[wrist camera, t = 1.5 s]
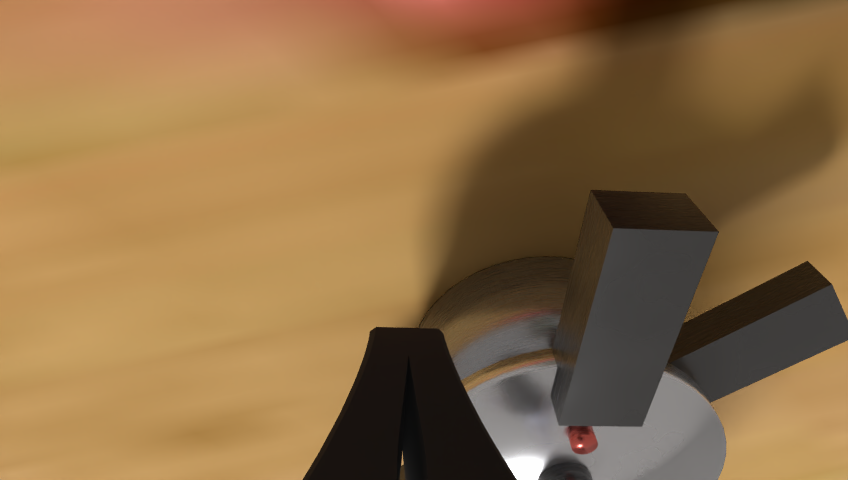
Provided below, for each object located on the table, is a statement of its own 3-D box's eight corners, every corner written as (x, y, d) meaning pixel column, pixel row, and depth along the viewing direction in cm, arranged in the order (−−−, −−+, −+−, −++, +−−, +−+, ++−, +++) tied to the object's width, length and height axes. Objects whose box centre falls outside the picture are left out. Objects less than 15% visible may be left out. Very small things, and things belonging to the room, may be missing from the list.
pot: (458, 479, 29) (467, 578, 25) (322, 364, 24) (306, 463, 20) (804, 313, 24) (887, 405, 20) (713, 129, 19) (796, 199, 15)
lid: (664, 544, 23) (683, 594, 22) (399, 544, 23) (400, 595, 21) (840, 197, 15) (893, 238, 13) (424, 181, 14) (427, 221, 13)
